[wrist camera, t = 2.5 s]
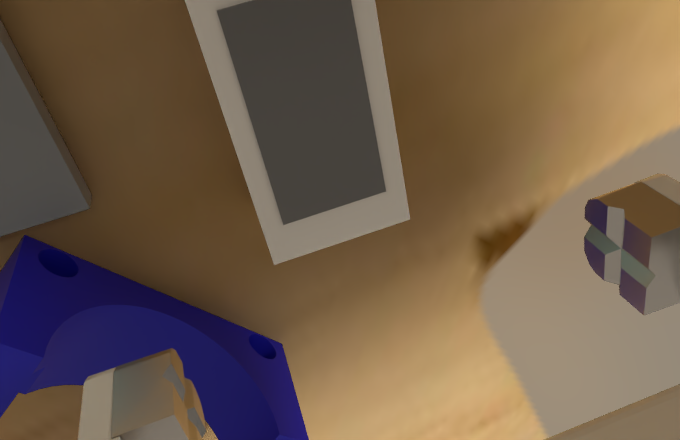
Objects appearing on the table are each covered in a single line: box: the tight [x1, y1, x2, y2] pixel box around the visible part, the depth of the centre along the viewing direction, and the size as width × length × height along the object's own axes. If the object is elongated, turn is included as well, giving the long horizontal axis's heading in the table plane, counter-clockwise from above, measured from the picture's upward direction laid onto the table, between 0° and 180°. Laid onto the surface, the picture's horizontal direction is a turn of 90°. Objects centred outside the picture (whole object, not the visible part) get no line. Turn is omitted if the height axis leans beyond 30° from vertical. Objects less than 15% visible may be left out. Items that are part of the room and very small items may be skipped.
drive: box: [185, 0, 410, 265], centre depth 20 cm, size 5×10×5 cm, turn 13°
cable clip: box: [0, 235, 309, 440], centre depth 23 cm, size 12×4×6 cm, turn 51°
